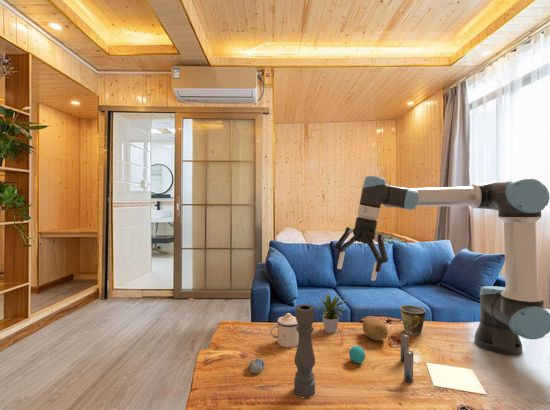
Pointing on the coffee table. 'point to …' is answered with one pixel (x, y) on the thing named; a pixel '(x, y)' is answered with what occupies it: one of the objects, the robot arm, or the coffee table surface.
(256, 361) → the decorative stone
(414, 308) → the ceramic cup
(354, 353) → the ball
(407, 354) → the post
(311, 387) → the candle holder
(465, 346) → the coffee table surface
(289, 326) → the teacup with lid
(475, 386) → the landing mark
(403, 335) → the post
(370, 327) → the potato
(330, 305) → the house plant
